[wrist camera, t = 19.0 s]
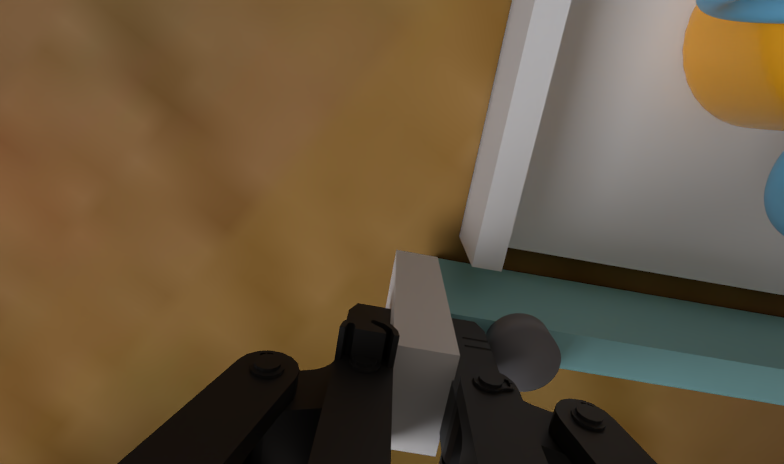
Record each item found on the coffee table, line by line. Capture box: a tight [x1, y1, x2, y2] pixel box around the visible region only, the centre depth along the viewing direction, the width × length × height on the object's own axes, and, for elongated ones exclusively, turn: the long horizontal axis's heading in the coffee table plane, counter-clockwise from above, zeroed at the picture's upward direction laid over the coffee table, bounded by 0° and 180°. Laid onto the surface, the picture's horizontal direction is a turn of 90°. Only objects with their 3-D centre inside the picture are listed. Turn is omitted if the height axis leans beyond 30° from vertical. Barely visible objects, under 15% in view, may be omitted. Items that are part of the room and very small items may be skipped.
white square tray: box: [459, 0, 784, 295], centre depth 15 cm, size 17×21×4 cm
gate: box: [438, 258, 784, 405], centre depth 16 cm, size 18×2×6 cm, turn 80°
